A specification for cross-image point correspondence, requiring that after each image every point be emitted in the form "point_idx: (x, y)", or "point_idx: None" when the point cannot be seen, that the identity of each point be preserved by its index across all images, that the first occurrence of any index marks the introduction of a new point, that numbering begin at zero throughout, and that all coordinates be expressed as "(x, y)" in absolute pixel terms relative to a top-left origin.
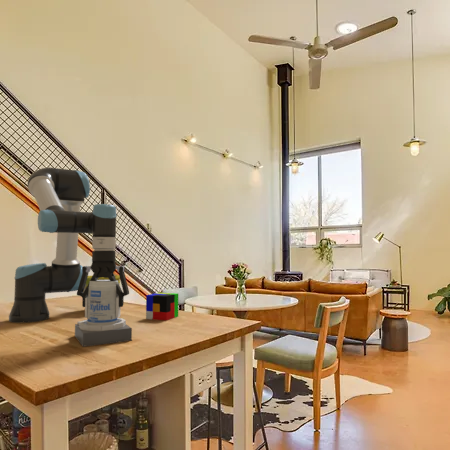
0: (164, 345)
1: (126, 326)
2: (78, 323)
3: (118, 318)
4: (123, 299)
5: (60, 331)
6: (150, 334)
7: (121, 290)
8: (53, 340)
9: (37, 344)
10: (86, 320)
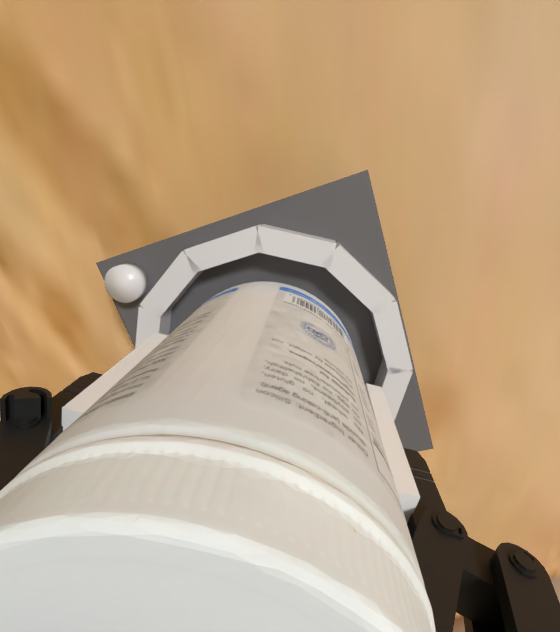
0: (542, 516)
1: (407, 403)
2: (119, 298)
3: (365, 291)
4: (441, 499)
5: (12, 103)
6: (532, 310)
7: (454, 592)
8: (64, 319)
9: (29, 371)
10: (158, 312)
